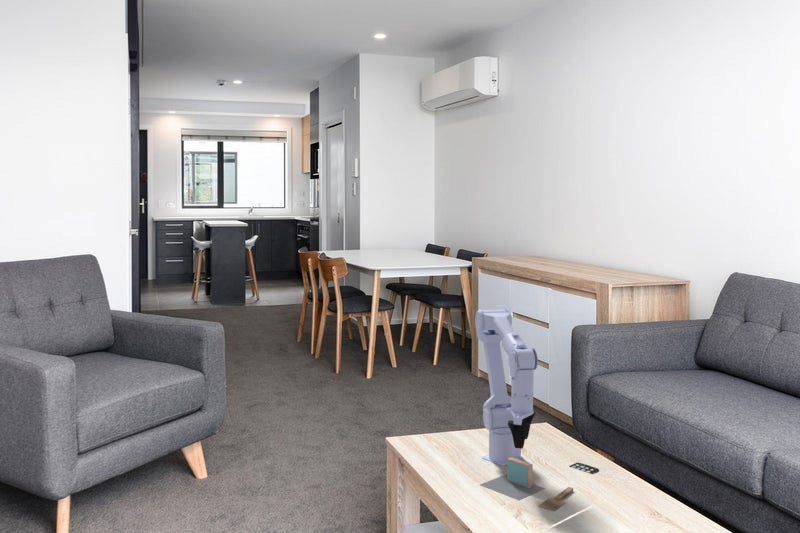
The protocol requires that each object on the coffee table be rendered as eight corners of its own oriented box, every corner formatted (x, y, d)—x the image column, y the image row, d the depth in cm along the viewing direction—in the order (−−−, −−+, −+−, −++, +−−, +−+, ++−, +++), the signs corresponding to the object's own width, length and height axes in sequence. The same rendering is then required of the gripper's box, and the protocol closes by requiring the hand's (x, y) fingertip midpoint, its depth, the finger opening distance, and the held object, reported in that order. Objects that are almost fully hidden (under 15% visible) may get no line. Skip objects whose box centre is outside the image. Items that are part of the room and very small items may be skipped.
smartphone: (546, 476, 194) (577, 461, 204) (546, 478, 194) (577, 464, 204) (569, 484, 189) (600, 469, 199) (569, 486, 189) (600, 471, 199)
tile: (511, 478, 192) (511, 457, 191) (532, 486, 186) (532, 464, 186) (506, 480, 190) (507, 458, 190) (527, 488, 185) (528, 466, 185)
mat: (506, 475, 195) (506, 473, 195) (545, 489, 185) (545, 488, 185) (479, 486, 188) (479, 484, 188) (518, 501, 178) (518, 500, 178)
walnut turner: (562, 489, 186) (562, 485, 186) (578, 494, 183) (578, 489, 183) (538, 508, 175) (538, 503, 174) (554, 513, 172) (554, 508, 172)
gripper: (511, 385, 197) (511, 433, 199) (502, 399, 184) (501, 450, 185) (537, 387, 195) (536, 435, 196) (529, 401, 181) (528, 453, 183)
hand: (521, 443), depth 190 cm, fingers open, 7 cm apart
